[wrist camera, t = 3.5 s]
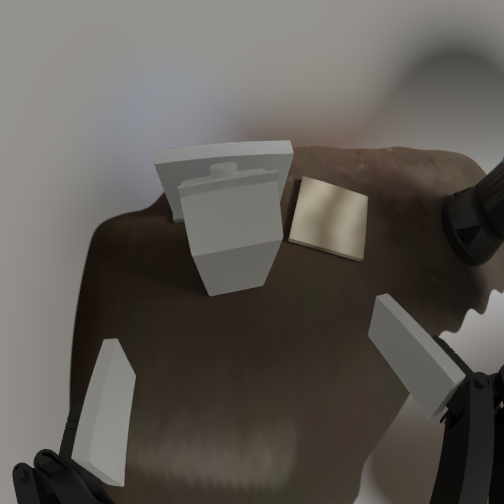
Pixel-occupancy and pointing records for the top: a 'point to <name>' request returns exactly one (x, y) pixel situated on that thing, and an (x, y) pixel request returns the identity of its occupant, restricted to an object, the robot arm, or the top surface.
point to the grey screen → (204, 156)
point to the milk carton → (232, 226)
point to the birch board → (330, 219)
